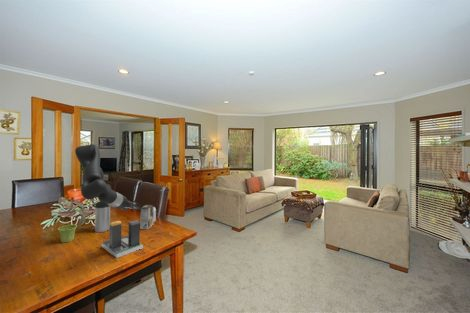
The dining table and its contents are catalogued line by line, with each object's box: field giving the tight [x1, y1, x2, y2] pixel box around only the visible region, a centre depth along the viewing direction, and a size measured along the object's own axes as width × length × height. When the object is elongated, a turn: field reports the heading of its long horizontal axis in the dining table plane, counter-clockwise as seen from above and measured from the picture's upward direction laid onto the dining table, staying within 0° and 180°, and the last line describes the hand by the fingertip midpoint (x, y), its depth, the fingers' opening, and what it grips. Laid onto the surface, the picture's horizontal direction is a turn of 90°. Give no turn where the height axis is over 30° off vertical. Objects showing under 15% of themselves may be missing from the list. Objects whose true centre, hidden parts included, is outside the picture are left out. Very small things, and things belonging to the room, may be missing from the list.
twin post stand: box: [101, 219, 144, 259], centre depth 124 cm, size 20×15×16 cm
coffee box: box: [139, 204, 154, 230], centre depth 157 cm, size 9×6×16 cm
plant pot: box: [57, 224, 78, 244], centre depth 131 cm, size 9×9×9 cm
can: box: [153, 206, 157, 223], centre depth 169 cm, size 8×8×12 cm
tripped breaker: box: [109, 220, 123, 248], centre depth 120 cm, size 4×5×14 cm
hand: (133, 208), depth 126 cm, fingers open, 8 cm apart
